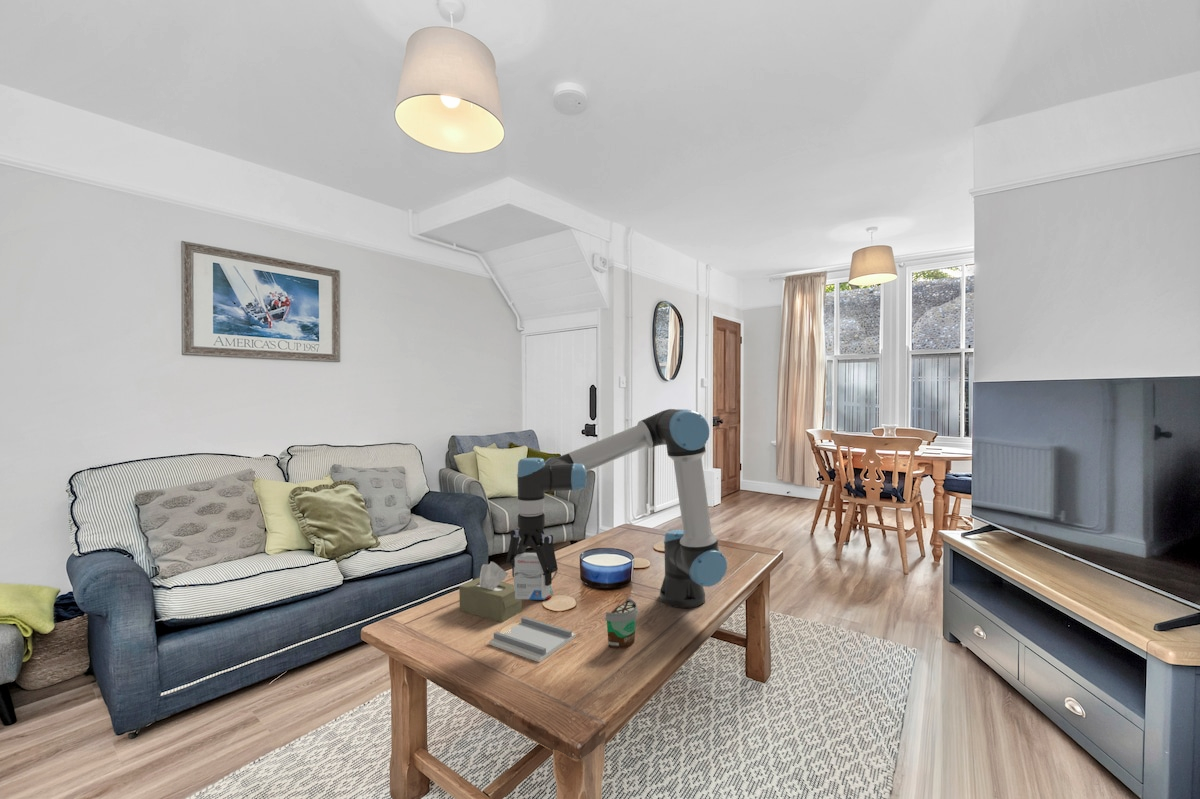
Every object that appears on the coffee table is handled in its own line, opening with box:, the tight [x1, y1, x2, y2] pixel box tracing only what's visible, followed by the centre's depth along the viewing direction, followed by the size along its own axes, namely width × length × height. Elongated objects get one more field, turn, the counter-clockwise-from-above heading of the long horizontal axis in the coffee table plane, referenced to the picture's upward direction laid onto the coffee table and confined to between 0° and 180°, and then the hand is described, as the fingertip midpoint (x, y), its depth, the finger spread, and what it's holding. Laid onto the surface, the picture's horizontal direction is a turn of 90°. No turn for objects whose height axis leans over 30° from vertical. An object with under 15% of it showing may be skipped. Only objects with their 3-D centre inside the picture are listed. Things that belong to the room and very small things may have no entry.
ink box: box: [515, 552, 546, 601], centre depth 144 cm, size 8×5×12 cm, turn 84°
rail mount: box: [488, 616, 576, 663], centre depth 144 cm, size 18×16×2 cm
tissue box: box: [458, 561, 523, 623], centre depth 164 cm, size 19×10×16 cm, turn 59°
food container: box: [605, 597, 640, 649], centre depth 142 cm, size 12×6×10 cm, turn 148°
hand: (531, 592), depth 144 cm, fingers closed on ink box, 9 cm apart
